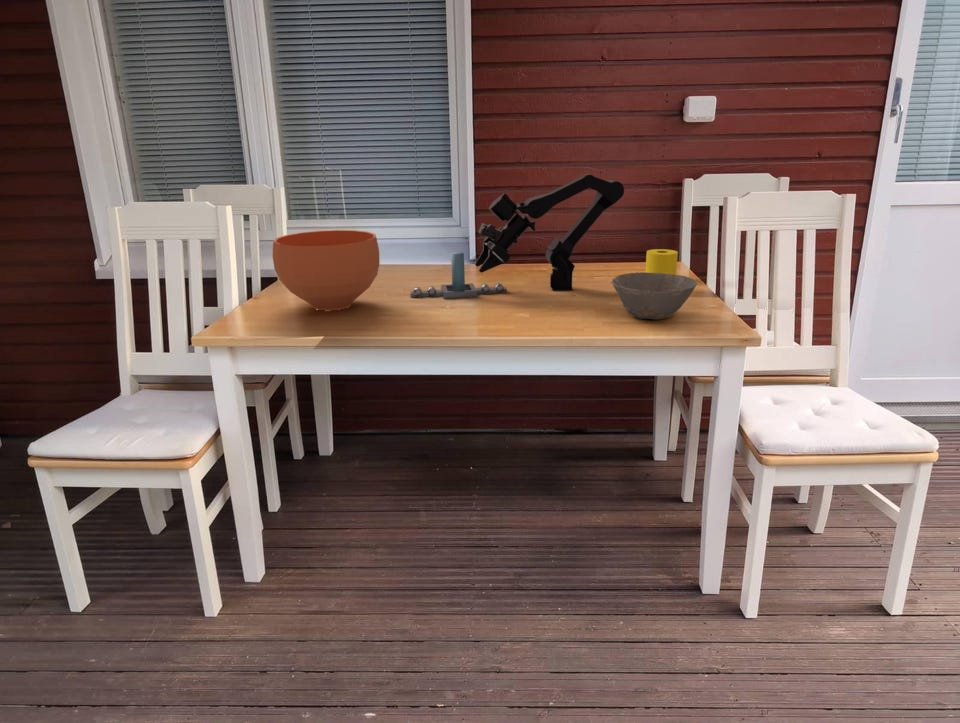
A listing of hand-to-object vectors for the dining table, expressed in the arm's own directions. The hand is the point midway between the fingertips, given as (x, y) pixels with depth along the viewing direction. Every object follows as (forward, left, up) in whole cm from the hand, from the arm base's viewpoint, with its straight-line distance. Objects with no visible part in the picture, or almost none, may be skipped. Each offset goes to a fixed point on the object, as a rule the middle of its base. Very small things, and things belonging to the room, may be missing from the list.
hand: (478, 268), depth 205 cm
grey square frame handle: (+6, +1, -8) cm, 10 cm away
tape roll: (-61, -17, -8) cm, 64 cm away
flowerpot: (+43, +15, -8) cm, 46 cm away
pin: (+6, +1, -8) cm, 10 cm away
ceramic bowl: (-49, +28, -8) cm, 57 cm away
